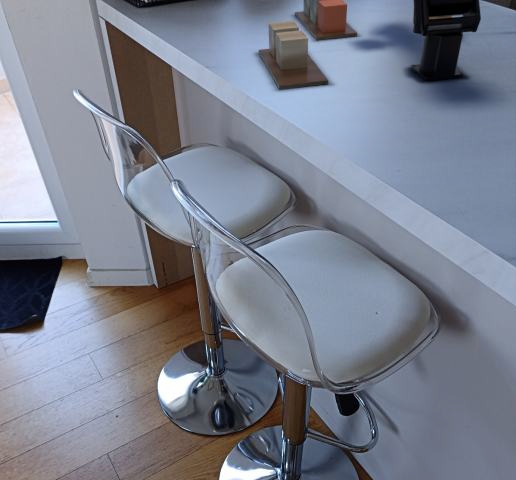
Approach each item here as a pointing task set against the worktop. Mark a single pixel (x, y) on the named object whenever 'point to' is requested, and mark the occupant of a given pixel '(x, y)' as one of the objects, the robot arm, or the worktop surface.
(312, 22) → the dark wooden base plate
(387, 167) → the worktop surface
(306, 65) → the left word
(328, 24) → the letter block
